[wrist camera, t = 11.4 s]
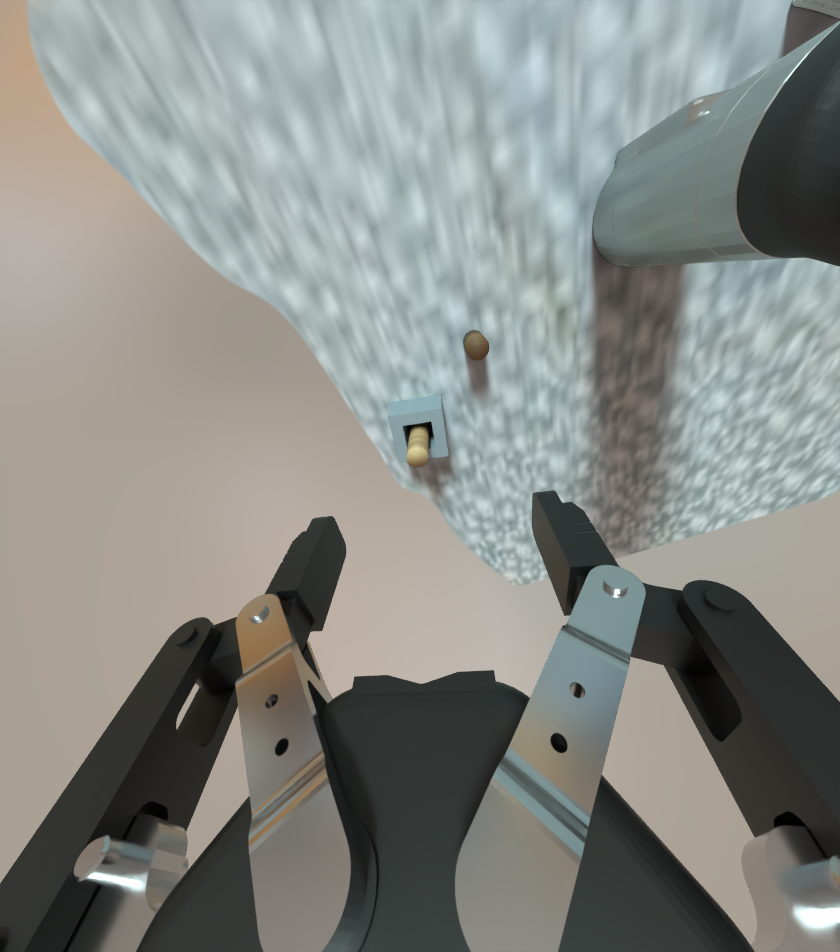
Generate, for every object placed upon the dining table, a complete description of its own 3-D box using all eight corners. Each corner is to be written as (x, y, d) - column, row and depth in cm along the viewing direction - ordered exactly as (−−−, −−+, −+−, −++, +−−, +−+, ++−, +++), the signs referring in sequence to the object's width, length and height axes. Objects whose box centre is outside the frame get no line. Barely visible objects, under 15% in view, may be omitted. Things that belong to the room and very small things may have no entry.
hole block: (392, 402, 41) (388, 416, 37) (440, 394, 40) (441, 408, 36) (402, 445, 44) (399, 462, 40) (447, 438, 43) (448, 455, 39)
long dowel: (410, 415, 42) (404, 450, 33) (427, 412, 41) (425, 447, 33) (413, 430, 43) (408, 468, 35) (430, 428, 43) (429, 465, 34)
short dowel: (462, 332, 36) (465, 338, 32) (482, 328, 36) (488, 334, 32) (464, 353, 37) (467, 362, 33) (484, 350, 37) (489, 358, 33)
